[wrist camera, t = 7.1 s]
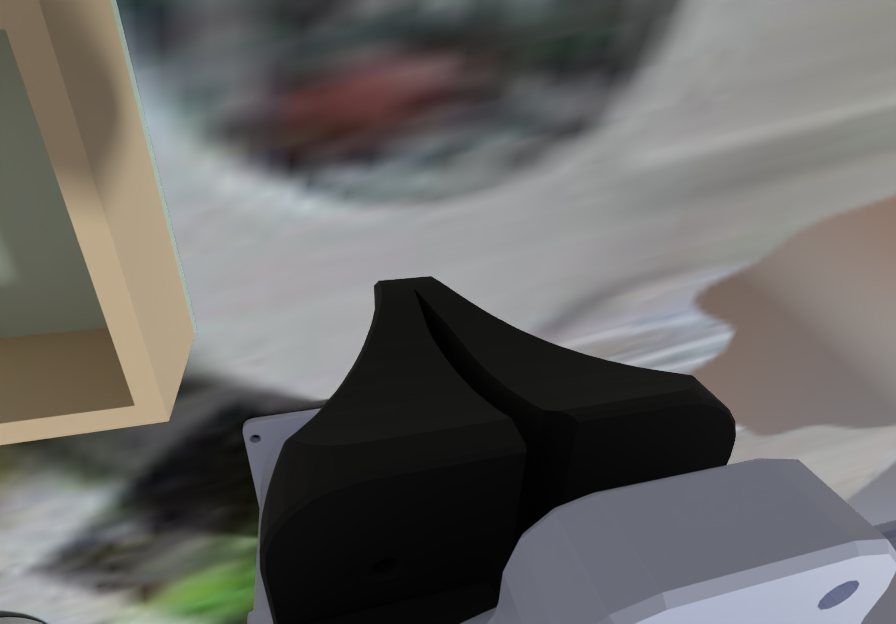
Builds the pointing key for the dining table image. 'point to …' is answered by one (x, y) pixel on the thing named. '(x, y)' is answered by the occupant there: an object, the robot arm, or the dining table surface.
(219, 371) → the dining table surface
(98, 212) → the box
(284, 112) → the dining table surface
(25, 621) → the supplement bottle
